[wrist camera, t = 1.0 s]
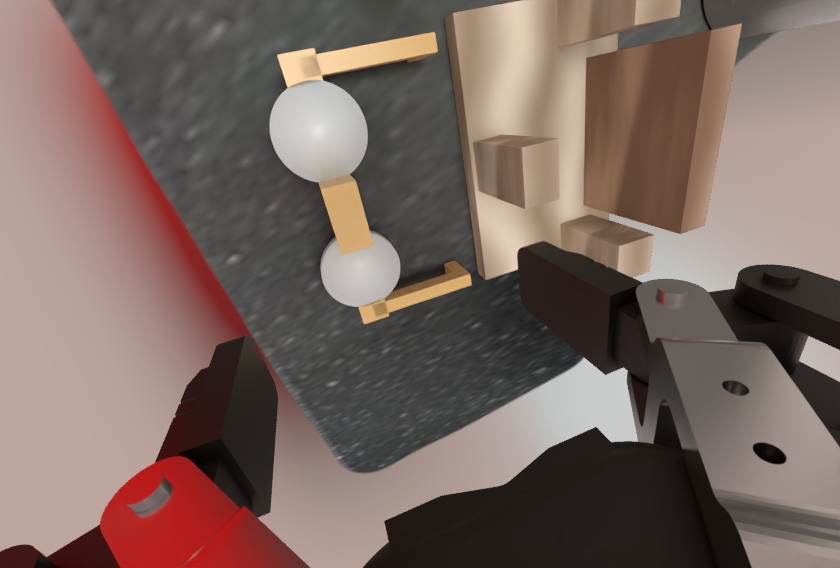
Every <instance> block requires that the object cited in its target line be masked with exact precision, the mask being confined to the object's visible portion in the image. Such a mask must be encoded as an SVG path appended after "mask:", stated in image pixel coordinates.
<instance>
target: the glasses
mask: <svg viewBox="0 0 840 568" xmlns="http://www.w3.org/2000/svg"><path fill="white" fill-rule="evenodd" d="M436 52H438V50H437V43H436V36H435V32H431V33H426V34H421V35H415V36H410V37H405V38H399V39H394V40H389V41H384V42H378V43H373V44H368V45H362V46H357V47H352V48H347V49H341V50H336V51H331V52H325V53H320V54H316V53H315V49H314V48H311V49H305V50H300V51H295V52H289V53H284V54H278V55H277V56H278V59H279V62H280V66H281V69H282V72H283V75H284V78H285V81H286V84H287V87H288V88H287V89H286V90H285V91H284V92H283V93H282V94H281V95H280V96H279V97H278V99H277V101H276V102H275V104H274V106H273V109H272V112H271V116H270V136H271V140H272V144H273V146H274V149H275V151H276V153H277V155H278V156H279V158H280V159H281V161H282V162H283V163H284V164H285V165H286V166H287V167H288V168H289V169H290V170H291V171H292V172H293V173H295V174H297V175H298V176H300V177H302V178H304V179H307V180H309V181H313V182H318V183H319V186H320V189H321V193H322V196H323V199H324V202H325V205H326V208H327V211H328V214H329V217H330V220H331V223H332V227H333V230H334V233H335V236H336V237H334V238H333V239H332V240H331V241H330V242H329V243H328V245H327V246H326V248H325V249H324V252H323V254H322V257H321V262H320V269H321V276H322V281H323V284H324V286H325V288H326V290H327V291H328V293H329V294H330V295H331V296H332V297H333V298H334V299H336V300H337V301H339V302H341V303H343V304H345V305H348V306H354V307H359V310H360V313H361V316H362V319H363V322H364V324H367V323H370V322H373V321H376V320H379V319H382V318H385V317H388V316H389V312H392V311H395V310H398V309H401V308H404V307H407V306H410V305H413V304H416V303H419V302H422V301H425V300H428V299H431V298H434V297H437V296H440V295H443V294H446V293H449V292H452V291H455V290H458V289H461V288H464V287H467V286H470V285H472V284H471V277H470V273H468V272H467V271H466V270H465V269H464V268H463V267H462V266H461V265H459V264H458V263H457V262H456V261H455V260H454V261H450V262H447V263H444V267H445V272H446V274H445V275H442V276H439V277H436V278H433V279H430V280H427V281H423V282H420V283H417V284H414V285H411V286H408V287H405V288H402V289H399V290H396V291H393V292H392V290H393V289H394V288H395V286H396V284H397V282H398V279H399V276H400V260H399V257H398V254H397V252H396V251H395V249H394V248H393V246H392V245H391V244H390V242H389V241H388V240H387V239H386V238H385V237H384V236H382V235H381V234H379V233H377V232H375V231H372V230H369V227H368V223H367V220H366V216H365V212H364V209H363V205H362V201H361V198H360V194H359V190H358V187H357V183H356V180H355V179H354V178H353V177H352V176H351V175H350V174H351V173H352V172H353V171H354V170H355V169H356V168H357V167H358V166H359V164H360V163H361V161H362V159H363V157H364V155H365V152H366V148H367V143H368V130H367V125H366V121H365V118H364V115H363V113H362V111H361V109H360V107H359V106H358V104H357V103H356V101H355V100H354V99H353V98H352V97H351V96H350V95H349V94H348V93H347V92H346V91H344V90H343V89H342V88H340V87H338V86H336V85H334V84H332V83H329V82H326V81H323V78H322V77H325V76H330V75H335V74H340V73H345V72H350V71H355V70H360V69H365V68H370V67H374V66H379V65H384V64H389V63H394V62H399V61H404V60H407V62H408V63H409V62H413V61H418V60H422V59H424V58H426V57H428V56H430V55H432V54H434V53H436Z"/></svg>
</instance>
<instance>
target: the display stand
mask: <svg viewBox="0 0 840 568" xmlns="http://www.w3.org/2000/svg"><path fill="white" fill-rule="evenodd" d="M680 6H681V0H522V1H516V2H511V3H505V4H499V5H494V6H488V7H483V8H477V9H472V10H466V11H461V12H455V13H452V14H451V15H449V16H448V17H446V18H445V19H444V20H445V27H446V35H447V43H448V50H449V58H450V65H451V73H452V80H453V88H454V95H455V103H456V110H457V118H458V125H459V133H460V140H461V148H462V155H463V163H464V170H465V178H466V185H467V193H468V200H469V208H470V215H471V223H472V230H473V238H474V245H475V253H476V260H477V268H478V274H479V275H480V276H482V277H483V278H484V279H485V280H488V279H491V278H494V277H497V276H500V275H503V274H506V273H509V272H512V271H515V270H518V261H517V253H518V250H519V249H520V248H522V247H525V246H528V245H531V244H534V243H537V242H540V241H546V242H548V243H550V244H552V245H554V246H556V247H558V248H560V249H563V250H565V251H569V252H574V253H579V254H582V255H584V256H587V257H589V258H591V259H593V260H594V261H595V262H599V263H602V264H604V265H606V267H610V268H612V269H614V270H616V271H619V272H621V273H623V274H625V275H627V276H629V277H631V278H633V277H636V276H638V275H641V274H644V273H647V272H649V271H650V264H651V256H652V247H653V239H654V235H653V234H650V233H647V232H644V231H641V230H638V229H635V228H631V227H628V226H625V225H622V224H619V223H616V222H613V221H609V213H611V214H615V215H618V216H621V217H625V218H629V219H631V220H635V221H639V222H642V223H645V224H648V225H652V226H655V227H659V228H662V229H666V230H669V231H672V232H676V233H679V234H682V233H684V232H687V231H690V230H693V229H696V228H699V227H702V226H705V222H706V217H707V211H708V206H709V200H710V195H711V189H712V184H713V179H714V173H715V167H716V162H717V157H718V151H719V146H720V141H721V135H722V130H723V124H724V119H725V113H726V108H727V103H728V97H729V91H730V86H731V81H732V75H733V70H734V65H735V59H736V54H737V48H738V43H739V37H740V32H741V26H742V23H741V24H737V25H732V26H728V27H723V28H719V29H714V30H710V31H705V32H700V33H696V34H691V35H687V36H682V37H678V38H673V39H669V40H664V41H660V42H655V43H651V44H646V45H641V46H637V47H632V48H628V49H623V50H619V51H617V49H618V33H621V32H624V31H628V30H632V29H635V28H639V27H643V26H646V25H650V24H653V23H657V22H661V21H664V20H668V19H672V18H675V17H679V15H680Z"/></svg>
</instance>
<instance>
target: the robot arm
mask: <svg viewBox="0 0 840 568" xmlns="http://www.w3.org/2000/svg"><path fill="white" fill-rule="evenodd" d="M703 2H704V10H705V14H706V18H707V21H708V23H709V25H710V27H711V29H712V30H714V29H719V28H723V27H728V26H732V25H737V24H741V23H742V26H741V32H740V37H739V39H740V38H746V37H751V36H756V35H762V34H767V33H773V32H778V31H783V30H789V29H795V28H801V27H806V26H811V25H817V24H823V23H828V22H833V21H838V20H840V0H703ZM517 261H518V275H519V288H520V296H521V300H522V302H523V304H524V306H525V308H526V309H527V310H528V311H529V312H530V313H531V314H532V315H533V316H535V317H536V318H537V319H538V320H539V321H541V322H542V323H543V324H544V325H546V326H547V327H548V328H549V329H550V330H552V331H553V332H554V333H555V334H557V335H558V336H559V337H560V338H561V339H563V340H564V341H565V342H566V343H567V344H569V345H570V346H571V347H572V348H574V349H575V350H576V351H577V352H578V353H580V354H581V355H582V356H583V357H584V358H586V359H587V360H588V361H589V362H591V363H592V364H593V365H594V366H595V367H597V368H598V369H599V370H600V371H602V372H603V373H604V374H605V375H606V374H608V373H611V372H613V371H616V370H618V369H620V368H623V367H624V368H625V369H627V370H628V374H627V384H628V390H629V395H630V400H631V406H632V411H633V416H634V422H635V427H636V432H637V438H638V442H631V441H626V442H610V441H609V440H608V439H607V438H606V437H605V436H604V435H603V434H602V433H601V432H600V431H599V429H598V428H597V427H595V428H593V429H591V430H588V431H586V432H584V433H582V434H579V435H577V436H575V437H573V438H570V439H568V440H566V441H564V442H561V443H559V444H557V445H555V446H552V447H550V448H548V449H547V450H546V451H545V452H544V453H542V454H541V455H540V456H539V457H538V458H536V459H535V460H534V461H533V462H532V463H531V464H530V465H528V466H527V467H526V468H525V469H524V470H522V471H521V472H520V473H519V474H518V475H517V476H515V477H514V478H513V479H512V480H511V481H509V482H508V483H506V484H504V485H502V486H498V487H493V488H486V489H480V490H475V491H468V492H462V493H456V494H450V495H444V496H440V497H438V498H436V499H433V500H431V501H429V502H426V503H424V504H422V505H420V506H417V507H415V508H413V509H411V510H408V511H406V512H404V513H402V514H399V515H397V516H395V517H393V518H390V519H388V520H386V521H385V526H386V531H387V535H388V540H389V542H388V543H387V544H386V545H385V546H384V547H382V548H381V549H380V550H379V551H378V552H377V553H376V554H375V555H374V556H373V557H372V558H371V559H370V560H369V561H368V562H367V563H366V564H365V566H364V567H363V568H840V382H838V381H836V380H834V379H832V378H831V377H829V376H827V375H825V374H823V373H821V372H819V371H817V370H815V369H813V368H811V367H809V366H807V365H805V364H803V363H801V362H799V359H800V356H801V354H802V351H803V349H804V346H805V343H806V341H807V338H808V336H810V337H813V338H815V339H817V340H819V341H821V342H824V343H826V344H828V345H830V346H832V347H835V348H837V349H839V350H840V281H838V280H834V279H832V278H828V277H825V276H822V275H819V274H816V273H812V272H810V271H806V270H803V269H799V268H795V267H790V266H782V265H756V266H750V267H746V268H744V269H742V270H741V271H740V272H739V273H738V277H737V281H736V285H735V289H730V290H722V291H715V292H707V291H706V290H705V289H704V288H702V287H700V286H698V285H696V284H693V283H690V282H686V281H682V280H674V279H657V280H651V281H647V282H644V283H642V282H640V281H638V280H636V279H634V278H631V277H629V276H627V275H625V274H623V273H621V272H619V271H616V270H614V269H612V268H610V267H606V265H604V264H602V263H599V262H595V261H594V260H593V259H591V258H589V257H587V256H584V255H582V254H579V253H574V252H569V251H565V250H563V249H560V248H558V247H556V246H554V245H552V244H550V243H548V242H546V241H540V242H537V243H534V244H531V245H528V246H525V247H522V248H520V249H519V250H518V253H517ZM277 406H278V396H277V390H276V386H275V383H274V380H273V378H272V376H271V374H270V372H269V370H268V368H267V366H266V364H265V362H264V360H263V358H262V357H261V355H260V353H259V351H258V349H257V347H256V345H255V343H254V341H253V339H252V338H251V337H250V336H248V335H246V336H243V337H240V338H237V339H233V340H230V341H228V342H224V343H221V344H218V345H217V346H216V349H215V352H214V354H213V357H212V360H211V363H210V366H209V367H208V368H205V369H202V370H200V372H199V373H198V374H197V375H196V376H195V377H194V378H193V379H192V381H191V382H190V383H189V384H188V385H187V388H186V389H185V392H184V394H183V397H182V399H181V404H179V406H178V409H177V411H176V414H175V415H176V417H175V418H173V421H172V423H171V425H170V428H169V430H168V433H167V435H166V437H165V440H164V442H163V445H162V447H161V449H160V452H159V454H158V457H157V459H156V461H155V463H154V464H152V465H150V466H148V467H147V468H145V469H143V470H142V471H140V472H139V473H138V474H136V475H135V476H134V477H132V478H131V479H130V480H129V481H128V482H126V483H125V484H124V485H123V486H122V487H121V488H120V489H119V490H118V492H117V493H116V494H115V495H114V496H113V498H112V499H111V500H110V502H109V503H108V505H107V506H106V508H105V510H104V512H103V515H102V517H101V521H100V525H98V526H97V527H95V528H94V529H92V530H91V531H89V532H87V533H85V534H84V535H82V536H80V537H79V538H77V539H76V540H74V541H72V542H71V543H69V544H67V545H66V546H64V547H63V548H61V549H59V550H58V551H56V552H54V553H53V554H51V555H50V556H48V557H46V556H44V555H43V554H42V553H40V552H39V551H38V550H37V549H35V548H34V547H33V546H30V545H17V546H13V547H10V548H8V549H5V550H3V551H1V552H0V568H310V567H309V566H308V565H307V564H306V563H305V562H304V561H303V560H302V559H300V558H299V557H298V556H297V555H296V554H295V553H294V552H293V551H292V550H291V549H290V548H289V547H288V546H286V544H285V543H284V542H282V541H281V540H280V539H279V538H278V537H277V536H276V535H275V534H274V533H273V532H272V531H271V530H270V529H269V528H268V527H267V526H266V525H265V524H263V523H262V522H261V521H260V520H259V519H258V517H260V516H262V515H265V514H267V513H270V507H271V493H272V479H273V464H274V450H275V435H276V421H277Z"/></svg>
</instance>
